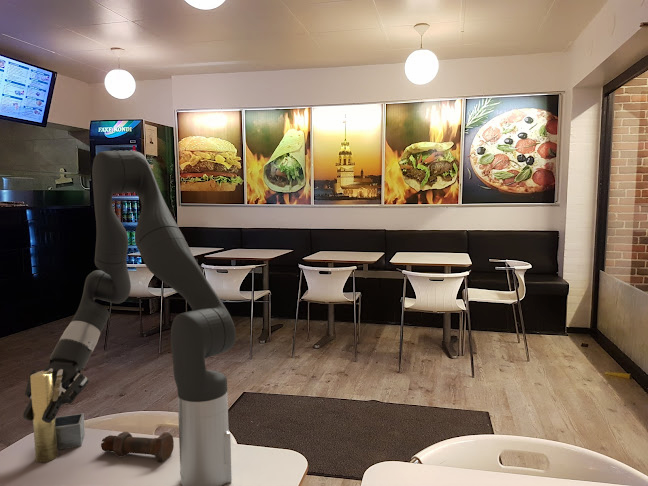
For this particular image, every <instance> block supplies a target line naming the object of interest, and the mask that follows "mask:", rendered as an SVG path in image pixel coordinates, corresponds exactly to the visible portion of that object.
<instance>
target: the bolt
mask: <svg viewBox="0 0 648 486" xmlns="http://www.w3.org/2000/svg"><path fill="white" fill-rule="evenodd" d="M174 443H175V442H174V437H173V435H172V434H171V433H170V432H167V431H164V432H162V434H160V435H159V436H158V437H154V438H153V437H139V436H137V437H136V436H133V435H132V434H131V433H130V432H128V431H122V432H120V433H119V434H118V435H111V434H110V435H108V436H105V437H104V438H102V440H101V444H100V447H101V450H102V451H104V452H111V453H112V452H113V453H114V455H115V456H116V457H120V458H123V457H126V456H127V455H129V454H138V455H139V454H140V455H150V456H153V457H155V459H156V460H157V462H159V463H164V462H167V461H168V460H169V459H170V458H171V455H172V453H173V451H174V448H175V446H174Z"/></svg>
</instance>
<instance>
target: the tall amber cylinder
mask: <svg viewBox="0 0 648 486" xmlns="http://www.w3.org/2000/svg"><path fill="white" fill-rule="evenodd" d="M42 371H43V370H42ZM37 372H38V373H34V374H32V375H31V376H30V375H29V377H30V378H31V394H32V410H33V420H32V424H33V425H32V426H33V437H34V439H33V440H34V441H33V442H34V453H35V454H34V455H35V456H34V457H35V462H37V463H47V462H50V461H53V460H54V459H56V458H57V457H58V450H57V439H56V422H55V418H54V419H53V420H52V421H51V423H46V422H45V421H43V420H42V417H43V415H44V413H45V411H46V409H47V407H48V405H49V403H50V402H53V400H52V399H53V396H54V392H55V391H54V388H53V372H51V371H43V372H39V371H37Z"/></svg>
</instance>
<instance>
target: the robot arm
mask: <svg viewBox="0 0 648 486" xmlns="http://www.w3.org/2000/svg"><path fill="white" fill-rule="evenodd" d="M92 162H93V163H92V168H91V169H92V173H91V174H92V189H93V204H94V213H95V214H94V215H95V221H96V222H95V224H96V225H95V227H96V235H95V236H96V237H95V239H96V241H95V250H94V251H95V253H94V264H95V267H96V268H97V269H96V270H92V272H90V273H89V274H88V275H87V276H86V278H85V280H84V286H83V292H82V296H81V299H80V303H79V306H78V308H77V310H76V312H75V314H74V315H73V317H72V319H71V321H70V323H69V324H68V326H67V327H65V330H64V331H63V333H62V335H61V336H60V338H59V340H58V342H57V343H56V345H55V347H54V349H53V351H52V353H51V354H50V356H49V363H48V365H47V366H46V367H45V368H44V369H43V370H41V371H40V370H39V371H37V370H36V369H33V370H31V372H30V375H29V378H28V382H27V384H26V389H25V392H24V395H25V396H26V397H27V398H29V402H28V404H27V406H26V407H25V410H24V411H23V419H25V420H27V421H29V422H30V421H32V422H33V410H32V394H31V378H30V376H31V375H32V374H34V373H38V372H43V371H51V372H53V388H54V396H53V399H52V400H53V402H50V403H49V405H48V407H47V409H46V411H45V413H44V415H43V417H42V420H43V421H45V422H46V423H51V421H52V420H53V419H54V418H55V417H57V415H58V413H59V410H60V408H61V407H62V406H63V405H64V404H68V405H70V404H72V403H73V402H74V401H75V400H76V399H77V397H78V396H79V395H80V393H81V392H82V391H84V390H83V389H84V388H85V387H86V386H87V385H88V384H89V382H90V379H89V378H88V377H87V376H86V375H84V374H83V373H81V372H82V371H83V370H84V369H85V367H86V366H87V363H88V362H89V360H90V358H91V356H92V354H93V352H94V350H95V347H96V346H97V344H98V341H99V338H100V336H101V333H102V332H103V329H104V327H105V326H106V324H107V321H108V320H109V317H110V312H109V310H108V309H107V307H106V306H104V305H102V304H100V303H98V302H96V301H95V300H100V301H104V302H108V303H112V304H116V305H117V304H118V305H119V304H122V303H123V302H125V301H126V300H127V299H128V298H129V295H130V293H131V291H132V289H131V288H132V286H131V285H132V283H131V278H130V273H129V269H128V266H127V265H128V264H127V258H128V248H129V236H128V232H127V230H126V228H125V226H124V224H123V223H122V221H121V220H120V219H119V217H118V215H117V214H116V212H115V210H114V208H113V201H112V200H113V195H114V194H128V193H131V194H132V193H135V194H136V196H137V197H138V199H139V201H140V204H141V209H140V215H139V217H138V219H137V224H136V227H135V232H134V243H135V246H136V248H137V251H138V253H139V254H140V257H141V258H142V261H143V262H144V265H145V266H146V268H147V269H148V270H149V272H151V273H152V274H153V276H155V277H156V278H158V279H159V280H160V281H161V282H163V283H164V284H165V285H167V286H169V288H171V289H173V290H174V291H175V292H177V293H178V294H179V295H180V296H182V297H183V299H185V301H186V303H187V304H188V305H189V306H190V308H191V310H189V311H186V312H185V311H184V312H180V313H179V314H177V315H175V317H174V319H173V321H172V323H171V327H170V347H171V355H172V366H173V371H172V372H173V379H174V381H175V385H176V388H177V411H178V412H177V414H178V441H179V469H180V470H179V476H180V485H181V486H224V485H226V484H228V483H232V480H233V479H232V448H231V447H232V446H231V445H232V444H231V442H232V440H231V437H232V436H231V432H230V429H229V405H228V403H229V402H228V400H229V398H228V379H227V376H226V375H225V374H224V373H223V372H220V371H217V370H212V369H207V368H206V360H205V359H207V358H211V357H213V356H217V355H220V354H222V353H225V352H228V351H230V350H231V349H232V348H233V347H234V345H235V343H236V338H237V333H236V326H235V323H234V321H233V318H232V316H231V314H230V312H229V310H228V309H227V308H226V306H225V304H224V303H223V302H222V300H221V299H220V297H219V295H218V294H217V293H216V291H215V290H214V288H213V287H212V285H211V284H210V281H208V280H207V279H208V278H207V277H206V275H205V274H204V272H203V270H202V269H201V268H200V265H199V264H198V262H197V260H196V258H195V256H194V254H193V252H192V250H191V249H190V246H189V245H188V242H187V241H186V239H185V236H184V234H183V233H182V231H181V229H180V228H179V225H178V224H177V222H176V220H175V219H174V217H173V215H172V213H171V211H170V209H169V207H168V205H167V203H166V202H165V199H164V197H163V194H162V192H161V189H160V188H159V187H160V186H159V184H158V182H157V180H156V178H155V177H156V176H155V175H154V172H153V170H152V167H151V165H150V163H149V160H147V158H146V156H145V155H144V154H143V153H142V152H139V151H137V150H105V151H99V152H97V154H96V155H95V156H94V158H93V161H92Z"/></svg>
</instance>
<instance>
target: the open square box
mask: <svg viewBox="0 0 648 486" xmlns="http://www.w3.org/2000/svg"><path fill="white" fill-rule="evenodd" d="M55 422H56V439H57V451H58V450H64V449H70V448H71V449H72V448H77V447H82V445H83V441H84V438H85V435H86V433H85V432H86V431H85V413H84V412H81V413H74V414H68V415H62V416H55Z"/></svg>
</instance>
